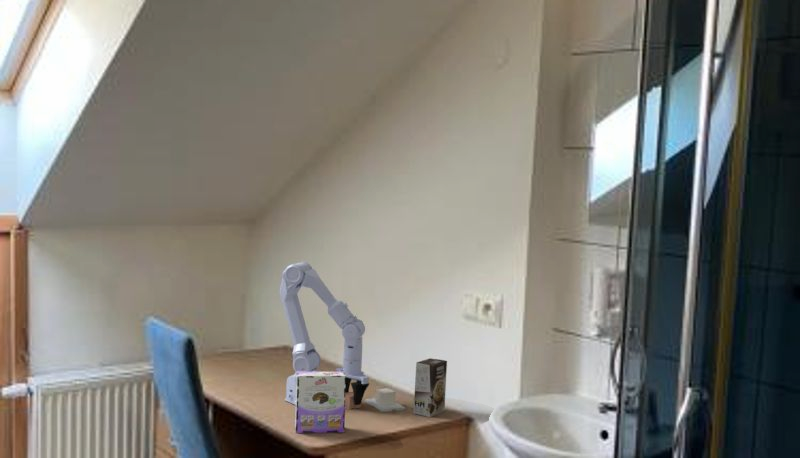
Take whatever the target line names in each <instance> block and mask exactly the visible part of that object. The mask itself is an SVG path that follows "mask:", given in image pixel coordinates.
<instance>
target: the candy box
mask: <svg viewBox="0 0 800 458" xmlns="http://www.w3.org/2000/svg"><path fill="white" fill-rule="evenodd" d="M345 389H346V375H345V373H344V371H339V372H336V371H323V370H322V371H318V372H303V371H302V372H297V381H296V405H295V412H294V413H295V415H294V416H295V417H294V433H296V434H307V433H308V434H315V433H316V434H318V433H319V434H320V433H321V434H323V433H328V434H330V433H345V425H346V424H345V420H346V419H345V418H346V416H345V415H346V413H345V412H346V408H345Z"/></svg>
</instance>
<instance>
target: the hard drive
mask: <svg viewBox="0 0 800 458" xmlns="http://www.w3.org/2000/svg"><path fill="white" fill-rule="evenodd" d="M364 401H365V403H367V404H369V405H370V406H372V407H374V408H375V409H376V410H378V411H380V412H382V413H383V412H395V411H403V410H404V411H405V410H406V407H405V406H403V405H401V404H400V403H399V402H396V401H395V404H392V405H385V406H383V405H380V404H378V403H376V402H375V401H376V397H373V398H366V399H365V400H364Z"/></svg>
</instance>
